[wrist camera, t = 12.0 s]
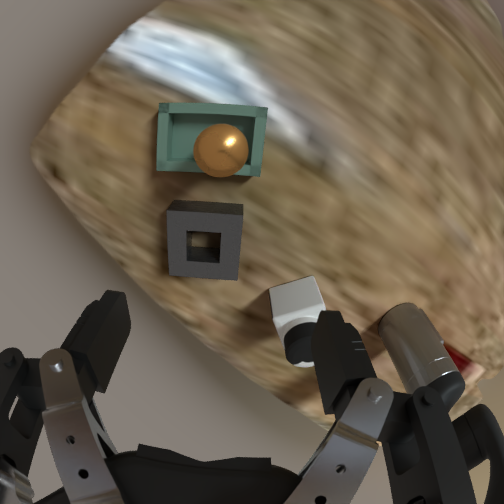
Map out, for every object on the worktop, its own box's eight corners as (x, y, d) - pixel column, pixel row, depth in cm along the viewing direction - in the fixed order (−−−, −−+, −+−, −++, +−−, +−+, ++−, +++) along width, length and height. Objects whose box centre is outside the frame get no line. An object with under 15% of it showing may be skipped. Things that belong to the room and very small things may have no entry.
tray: (265, 108, 30) (267, 107, 27) (258, 171, 33) (260, 176, 31) (166, 103, 29) (159, 103, 26) (163, 165, 33) (156, 170, 30)
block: (243, 204, 35) (243, 215, 32) (237, 264, 40) (237, 280, 36) (174, 199, 35) (166, 210, 31) (175, 260, 39) (169, 275, 35)
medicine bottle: (267, 287, 42) (275, 346, 31) (313, 274, 41) (334, 329, 30) (279, 320, 45) (289, 378, 34) (321, 308, 44) (340, 363, 34)
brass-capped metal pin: (249, 121, 30) (250, 126, 20) (245, 157, 32) (245, 179, 22) (211, 119, 30) (194, 122, 20) (208, 154, 32) (192, 175, 22)
